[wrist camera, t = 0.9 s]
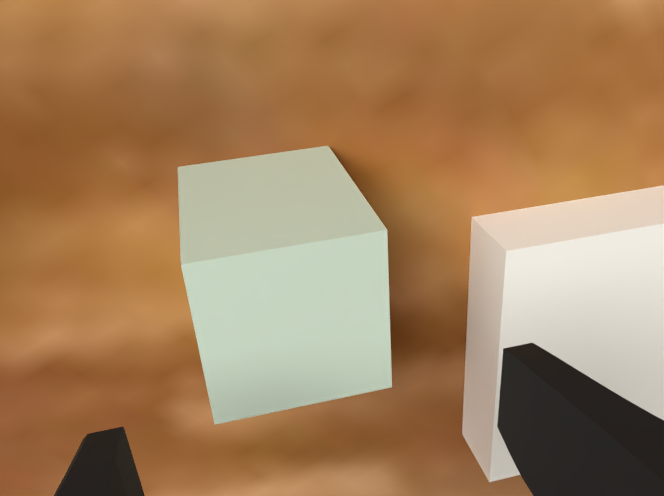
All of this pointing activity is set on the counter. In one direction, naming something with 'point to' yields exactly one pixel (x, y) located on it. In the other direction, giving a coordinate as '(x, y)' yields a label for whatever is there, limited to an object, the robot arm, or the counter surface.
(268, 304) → the sage block
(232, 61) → the counter surface
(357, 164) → the counter surface
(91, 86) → the counter surface
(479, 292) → the white block
